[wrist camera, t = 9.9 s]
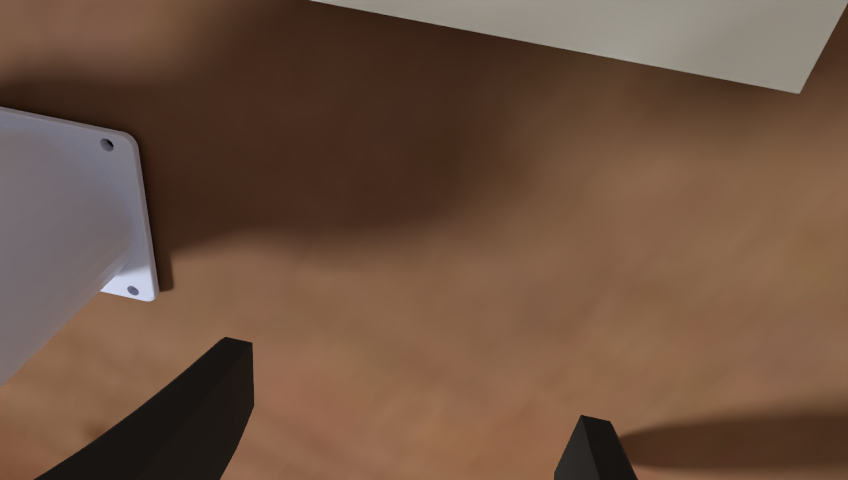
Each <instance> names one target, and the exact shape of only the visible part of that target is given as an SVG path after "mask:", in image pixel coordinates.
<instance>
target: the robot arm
mask: <svg viewBox="0 0 848 480" xmlns="http://www.w3.org/2000/svg"><path fill="white" fill-rule="evenodd" d="M107 139H108V140H110V141H111V142H112V144H113V146H114V147H112V146H111V145H110V144H109V143H108V142H107ZM135 287H136V288H137V289H136V288H135ZM99 291H102V292H107V293H111V294H116V295H120V296H125V297H130V298H134V299H139V300H143V301H152V300H154V299H155V298H156V297H157V295H158V294H159V286H158V279H157V272H156V266H155V259H154V252H153V245H152V238H151V231H150V225H149V218H148V211H147V204H146V197H145V191H144V184H143V177H142V170H141V163H140V157H139V150H138V145H137V142H136V141H135V139H134V138H133V137H132V136H131V135H129V134H128V133H125V132H122V131H117V130H112V129H107V128H102V127H98V126H93V125H88V124H83V123H78V122H73V121H68V120H63V119H59V118H54V117H49V116H44V115H39V114H34V113H29V112H24V111H19V110H15V109H10V108H5V107H0V388H1V387H2V386H3V385H4V384H5V383H6V382H7V381H8V380H9V379H10V378H11V377H12V376H13V375H14V374H15V373H16V372H17V371H18V370H19V369H20V368H21V367H22V366H23V365H24V364H25V363H26V362H27V361H28V360H29V359H31V358H32V357H33V356H34V355H35V354H36V353H37V352H38V351H39V350H40V349H41V348H42V347H43V346H44V345H45V344H46V343H47V342H48V341H49V340H50V339H51V338H52V337H53V336H54V335H55V334H56V333H57V332H58V331H59V330H60V329H61V328H62V327H63V326H64V325H65V324H67V323H68V322H69V321H70V320H71V319H72V318H73V317H74V316H75V315H76V314H77V313H78V312H79V311H80V310H81V309H82V308H83V307H84V306H85V305H86V304H87V303H88V302H89V301H90V300H91V299H92V298H93V297H94V296H95V295H96V294H97V293H98V292H99ZM253 407H254V382H253V349H252V343H251V342H246V341H242V340H237V339H232V338H228V337H224V338H223V339H221V340H220V341H219V342H217V343H216V344H215V345H214V346H213V347H212V348H211V349H209V350H208V351H207V352H206V353H205V354H204V355H203V356H201V357H200V358H199V359H198V360H197V361H196V362H194V363H193V364H192V365H191V366H190V367H189V368H187V369H186V370H185V371H184V372H183V373H181V374H180V375H179V376H178V377H177V378H175V379H174V380H173V381H172V382H171V383H169V384H168V385H167V386H166V387H164V388H163V389H162V390H161V391H159V392H158V393H157V394H156V395H154V396H153V397H152V398H151V399H149V400H148V401H147V402H146V403H144V404H143V405H142V406H141V407H139V408H138V409H137V410H135V411H134V412H133V413H131V414H130V415H129V416H127V417H126V418H125V419H123V420H122V421H120V422H119V423H118V424H116V425H115V426H114V427H112V428H111V429H109V430H108V431H107V432H105V433H104V434H103V435H101V436H100V437H98V438H97V439H96V440H94V441H93V442H91V443H90V444H88V445H87V446H85V447H84V448H82V449H81V450H80V451H78V452H77V453H75V454H73V455H72V456H70V457H69V458H67V459H66V460H64V461H63V462H61V463H60V464H58V465H56V466H55V467H53V468H52V469H50V470H49V471H47V472H45V473H44V474H42V475H40V476H39V477H37V478H35V479H34V480H220V478H221V476H222V474H223V473H224V471H225V469H226V467H227V465H228V463H229V462H230V460H231V458H232V456H233V454H234V452H235V450H236V448H237V446H238V444H239V441H240V439H241V437H242V434H243V432H244V430H245V427H246V425H247V422H248V420H249V417H250V415H251V412H252V410H253ZM554 480H638V479H637V477H636V475H635V473H634V470H633V468H632V466H631V464H630V462H629V460H628V458H627V456H626V454H625V451H624V449H623V447H622V445H621V443H620V441H619V438H618V436H617V434H616V432H615V430H614V427H613V425H612V424H611V422H610V421H606V420H602V419H597V418H593V417H588V416H584V415H581V416H580V418H579V420H578V423H577V425H576V427H575V429H574V431H573V433H572V436H571V438H570V440H569V442H568V444H567V446H566V449H565V451H564V453H563V455H562V457H561V459H560V461H559V464H558V466H557V468H556V470H555V472H554Z"/></svg>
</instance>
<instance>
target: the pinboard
mask: <svg viewBox="0 0 848 480" xmlns="http://www.w3.org/2000/svg"><path fill="white" fill-rule="evenodd" d="M311 1H316V2H322V3H327V4H332V5H337V6H343V7H348V8H353V9H358V10H363V11H369V12H374V13H379V14H384V15H390V16H395V17H400V18H405V19H410V20H416V21H421V22H426V23H431V24H437V25H442V26H447V27H452V28H458V29H463V30H468V31H473V32H478V33H484V34H489V35H494V36H499V37H505V38H510V39H515V40H520V41H525V42H531V43H536V44H541V45H546V46H552V47H557V48H562V49H567V50H573V51H578V52H583V53H588V54H593V55H599V56H604V57H609V58H614V59H620V60H625V61H630V62H635V63H640V64H646V65H651V66H656V67H661V68H667V69H672V70H677V71H682V72H688V73H693V74H698V75H703V76H708V77H714V78H719V79H724V80H729V81H735V82H740V83H745V84H750V85H756V86H761V87H766V88H771V89H776V90H782V91H787V92H792V93H797V94H799V93H800V92H801V90H802V88H803V86H804V84H805V82H806V80H807V78H808V77H809V75H810V73H811V71H812V69H813V67H814V65H815V63H816V62H817V60H818V58H819V56H820V54H821V52H822V50H823V48H824V47H825V45H826V43H827V41H828V39H829V37H830V35H831V33H832V32H833V30H834V28H835V26H836V24H837V22H838V20H839V18H840V17H841V15H842V13H843V11H844V9H845V7H846V5H847V4H848V0H311Z"/></svg>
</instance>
